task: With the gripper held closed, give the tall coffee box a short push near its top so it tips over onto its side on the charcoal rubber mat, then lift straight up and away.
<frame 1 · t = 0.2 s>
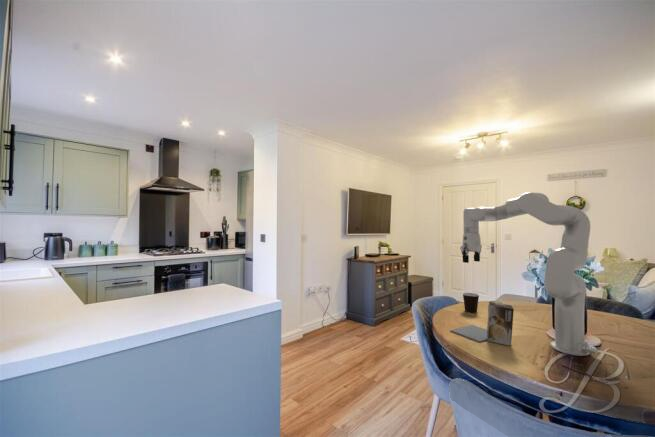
hand: (471, 261, 162), 31 cm above the table, tool pointing down, fingers open, 9 cm apart
mat: (475, 333, 140), on the table
coffee box: (498, 341, 131), on the table, touching mat
soda can: (496, 326, 150), on the table
coffee mug: (469, 312, 174), on the table
fork: (588, 377, 102), on the table
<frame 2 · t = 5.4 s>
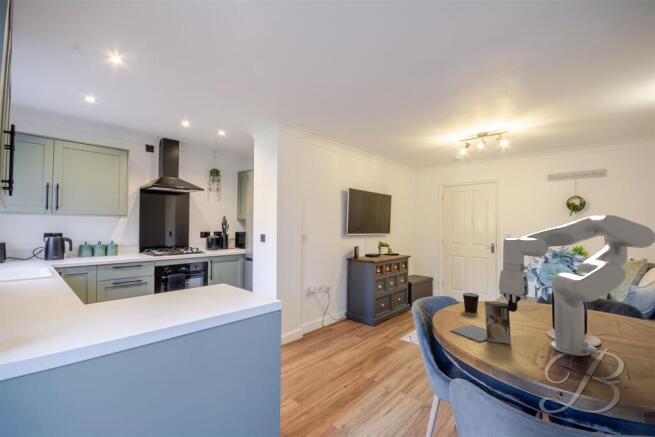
hand: (512, 310, 125), 15 cm above the table, tool pointing down, fingers closed
coffee box: (498, 340, 131), point 1 cm above the table, touching gripper, mat
everything else where it was.
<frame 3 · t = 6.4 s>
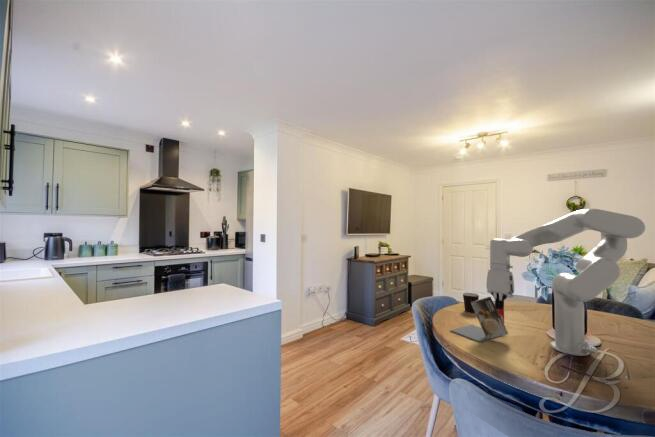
hand: (499, 308, 130), 15 cm above the table, tool pointing down, fingers closed
coffee box: (497, 335, 131), point 3 cm above the table, touching gripper, mat
everything else where it was.
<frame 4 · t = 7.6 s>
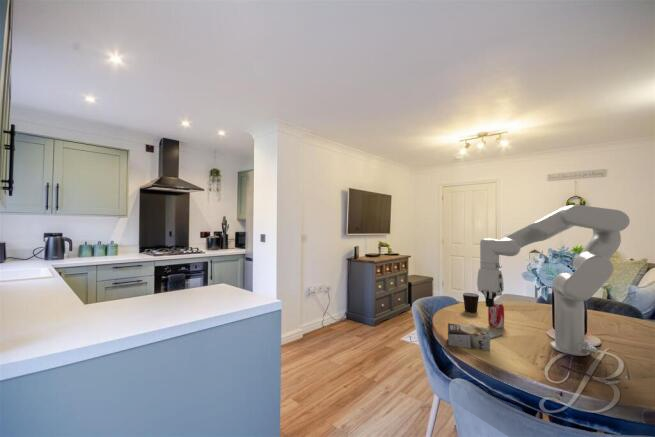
hand: (489, 306, 134), 15 cm above the table, tool pointing down, fingers closed
coffee box: (489, 338, 125), point 3 cm above the table, touching mat
everything else where it was.
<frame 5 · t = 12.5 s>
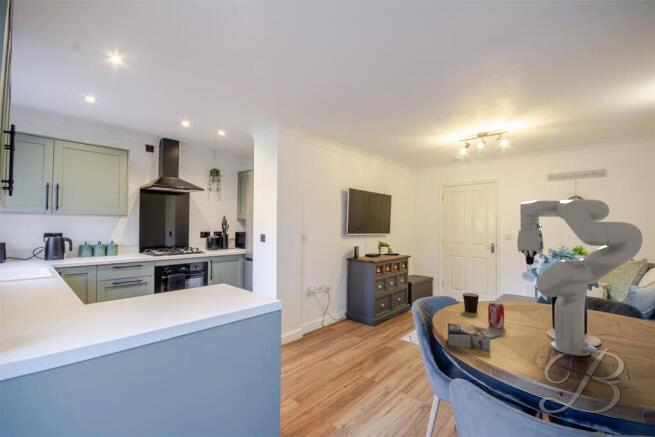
hand: (529, 264, 145), 32 cm above the table, tool pointing down, fingers closed
nothing on the table moved.
at the end: coffee box tilted 90°; coffee box touching mat, table; coffee box inside the target area (10.4 cm from its centre), point 3.4 cm above the table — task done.
